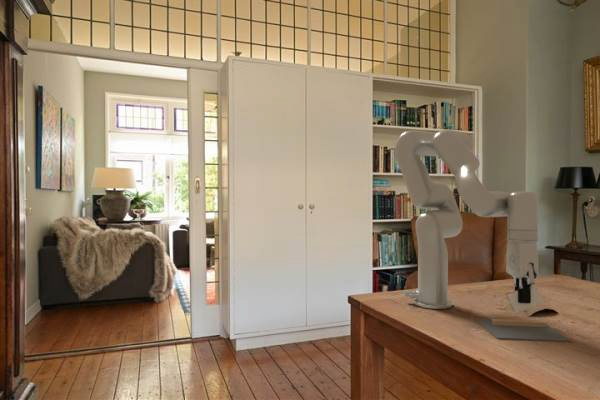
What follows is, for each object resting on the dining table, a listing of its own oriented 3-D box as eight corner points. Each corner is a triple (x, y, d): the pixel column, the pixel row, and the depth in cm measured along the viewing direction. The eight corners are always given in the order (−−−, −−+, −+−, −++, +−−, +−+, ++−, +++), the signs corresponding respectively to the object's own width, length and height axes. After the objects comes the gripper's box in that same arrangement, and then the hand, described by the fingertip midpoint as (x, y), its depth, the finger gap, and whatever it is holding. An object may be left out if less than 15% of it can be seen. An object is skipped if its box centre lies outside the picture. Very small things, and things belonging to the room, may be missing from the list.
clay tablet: (533, 306, 138) (533, 298, 138) (562, 314, 129) (562, 305, 129) (501, 310, 133) (501, 302, 133) (527, 319, 124) (527, 310, 124)
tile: (515, 312, 113) (508, 295, 113) (513, 310, 114) (505, 294, 114) (543, 301, 112) (536, 284, 112) (540, 300, 114) (533, 283, 114)
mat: (497, 339, 105) (497, 332, 105) (476, 319, 121) (476, 314, 121) (570, 341, 103) (570, 335, 103) (539, 321, 119) (539, 316, 119)
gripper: (497, 233, 121) (497, 295, 121) (520, 238, 106) (521, 309, 106) (523, 233, 121) (524, 295, 121) (551, 238, 105) (551, 310, 105)
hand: (522, 301), depth 113 cm, fingers closed on tile, 1 cm apart
